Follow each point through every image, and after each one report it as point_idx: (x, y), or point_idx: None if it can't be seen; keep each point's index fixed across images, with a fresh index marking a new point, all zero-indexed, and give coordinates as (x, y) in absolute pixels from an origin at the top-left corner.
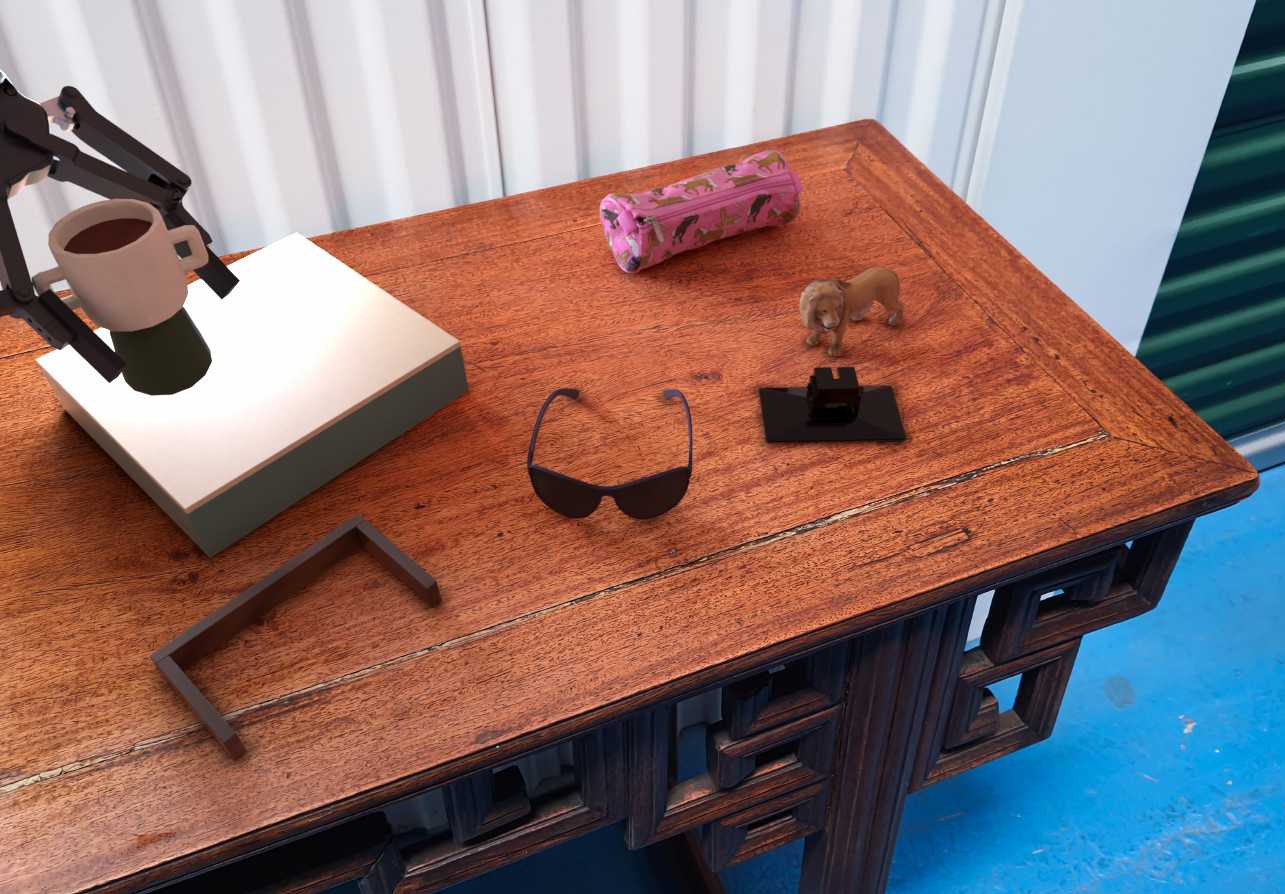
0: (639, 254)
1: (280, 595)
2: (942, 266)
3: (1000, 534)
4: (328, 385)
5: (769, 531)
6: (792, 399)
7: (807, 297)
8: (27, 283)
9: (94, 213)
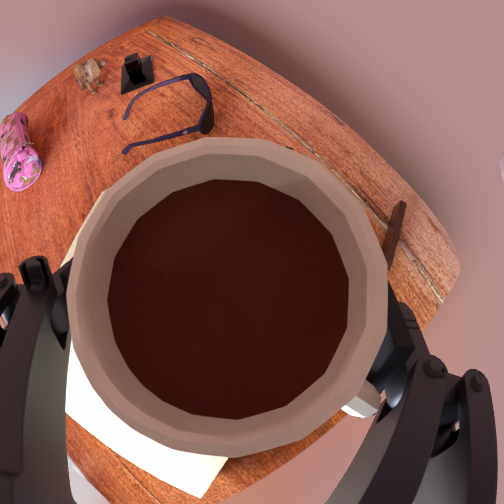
0: (37, 155)
1: None
2: (61, 82)
3: (193, 34)
4: None
5: (204, 69)
6: (129, 81)
7: (92, 65)
8: (421, 377)
9: (134, 396)
